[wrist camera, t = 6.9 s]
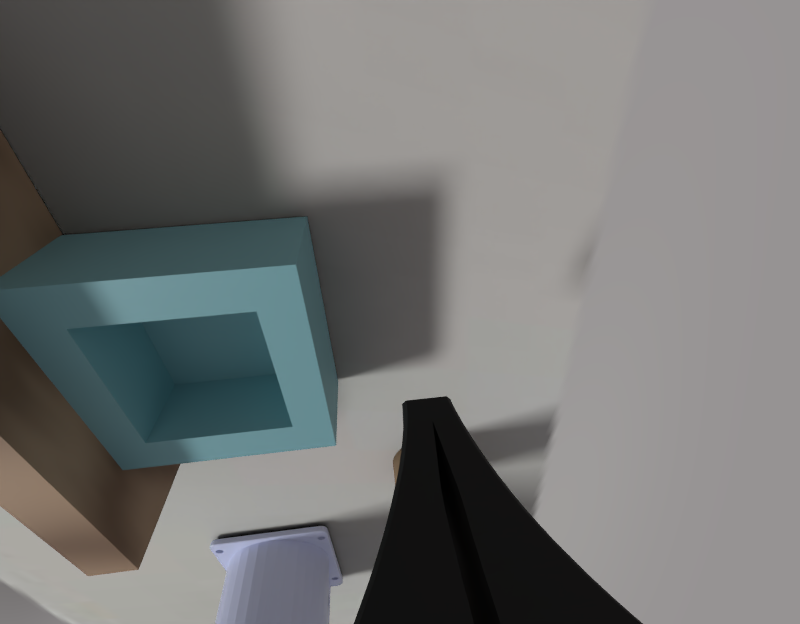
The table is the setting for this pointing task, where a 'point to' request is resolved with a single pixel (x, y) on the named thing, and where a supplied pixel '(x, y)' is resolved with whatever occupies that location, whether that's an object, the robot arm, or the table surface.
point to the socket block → (183, 338)
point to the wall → (62, 430)
